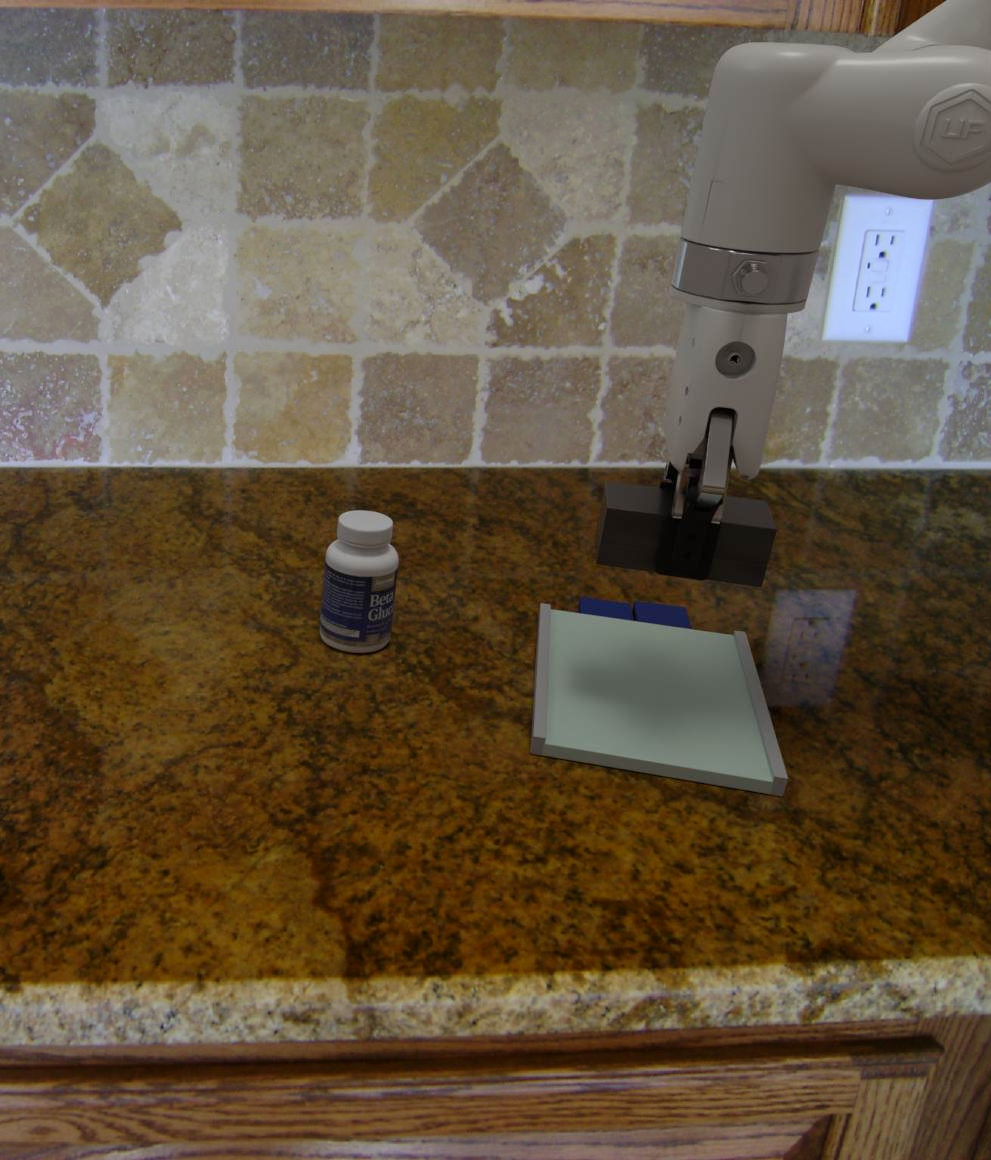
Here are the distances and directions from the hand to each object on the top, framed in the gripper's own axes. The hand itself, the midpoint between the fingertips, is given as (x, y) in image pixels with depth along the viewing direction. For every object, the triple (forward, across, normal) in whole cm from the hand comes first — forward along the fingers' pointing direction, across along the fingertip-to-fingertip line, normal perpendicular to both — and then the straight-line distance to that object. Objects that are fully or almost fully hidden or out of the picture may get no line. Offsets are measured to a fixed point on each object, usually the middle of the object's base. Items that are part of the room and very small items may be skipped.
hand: (677, 555), depth 76 cm
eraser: (0, 0, 0) cm, 0 cm away
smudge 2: (+12, +14, -2) cm, 18 cm away
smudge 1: (+12, +14, +2) cm, 18 cm away
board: (+12, +2, 0) cm, 12 cm away
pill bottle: (+12, +3, +21) cm, 24 cm away
